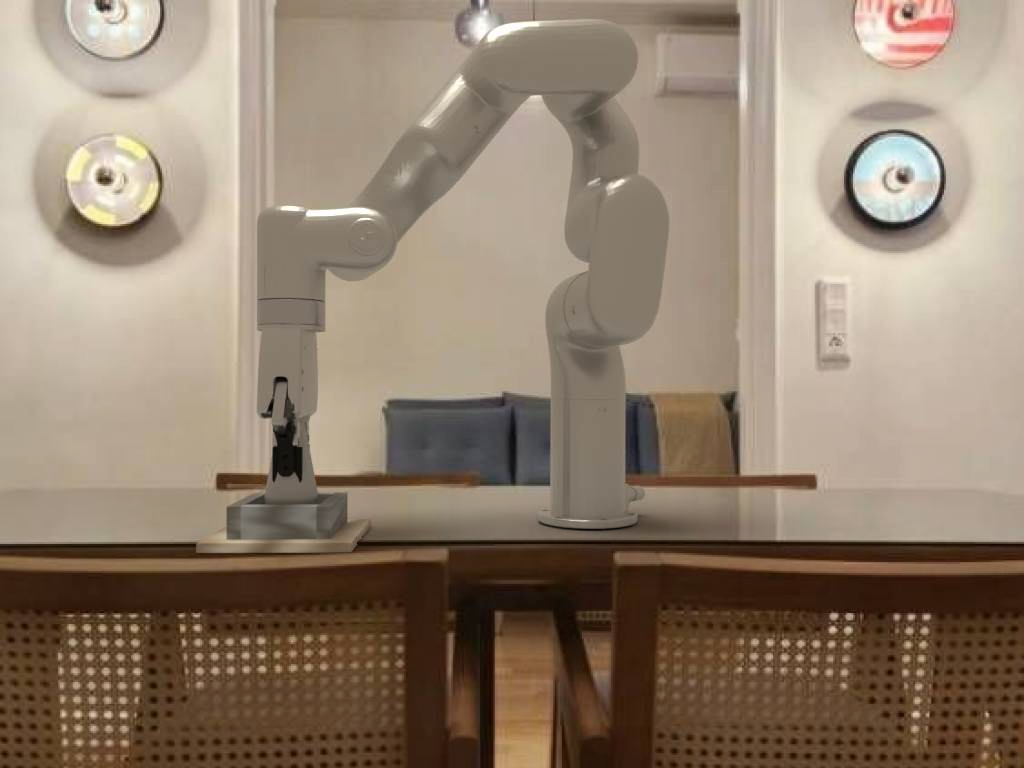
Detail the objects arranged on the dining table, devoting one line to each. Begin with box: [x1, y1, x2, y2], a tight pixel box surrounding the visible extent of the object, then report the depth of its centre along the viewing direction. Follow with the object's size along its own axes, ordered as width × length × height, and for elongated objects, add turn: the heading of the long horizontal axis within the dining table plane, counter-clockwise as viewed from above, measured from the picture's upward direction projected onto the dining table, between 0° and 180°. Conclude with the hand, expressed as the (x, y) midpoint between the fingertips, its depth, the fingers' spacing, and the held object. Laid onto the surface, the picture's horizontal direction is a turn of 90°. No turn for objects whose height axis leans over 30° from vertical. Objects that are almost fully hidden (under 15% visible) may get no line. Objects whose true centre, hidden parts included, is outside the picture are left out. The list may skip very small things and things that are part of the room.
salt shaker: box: [264, 406, 319, 505], centre depth 95 cm, size 6×6×13 cm
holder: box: [195, 491, 372, 554], centre depth 95 cm, size 16×15×4 cm
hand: (291, 479), depth 95 cm, fingers closed on salt shaker, 3 cm apart
